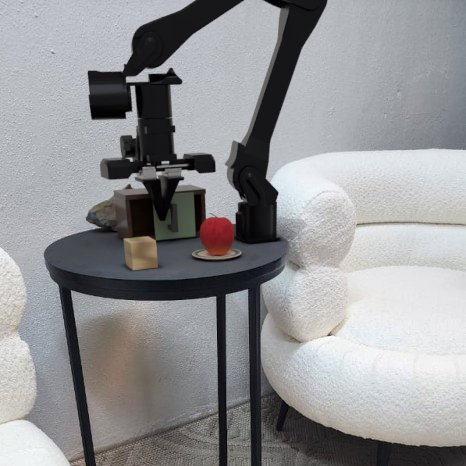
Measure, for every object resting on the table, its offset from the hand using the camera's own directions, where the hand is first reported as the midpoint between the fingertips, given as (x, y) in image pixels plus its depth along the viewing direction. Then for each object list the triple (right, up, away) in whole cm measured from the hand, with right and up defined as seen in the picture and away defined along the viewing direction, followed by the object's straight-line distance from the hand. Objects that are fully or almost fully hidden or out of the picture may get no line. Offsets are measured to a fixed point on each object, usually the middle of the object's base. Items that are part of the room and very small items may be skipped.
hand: (162, 220), depth 119 cm
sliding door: (+3, -2, +4) cm, 5 cm away
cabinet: (-1, +1, +9) cm, 9 cm away
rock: (-11, +5, +17) cm, 21 cm away
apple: (+10, -9, -8) cm, 15 cm away
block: (-2, -12, -13) cm, 18 cm away
